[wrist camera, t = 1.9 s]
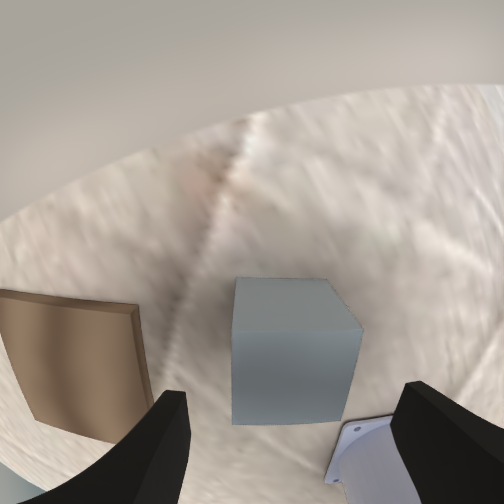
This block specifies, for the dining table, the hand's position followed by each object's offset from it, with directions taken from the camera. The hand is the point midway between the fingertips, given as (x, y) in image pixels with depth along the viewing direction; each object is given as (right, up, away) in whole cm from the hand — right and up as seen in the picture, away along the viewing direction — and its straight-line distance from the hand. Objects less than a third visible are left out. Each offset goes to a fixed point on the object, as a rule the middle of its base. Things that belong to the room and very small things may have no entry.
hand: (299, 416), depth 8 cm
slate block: (0, +2, +7) cm, 7 cm away
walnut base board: (-13, -3, +8) cm, 16 cm away
